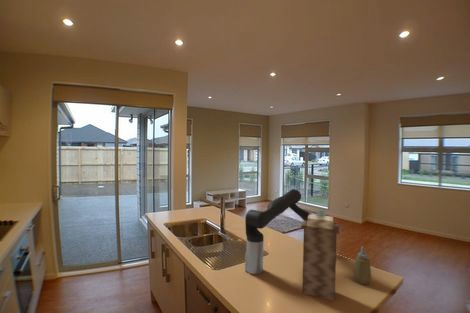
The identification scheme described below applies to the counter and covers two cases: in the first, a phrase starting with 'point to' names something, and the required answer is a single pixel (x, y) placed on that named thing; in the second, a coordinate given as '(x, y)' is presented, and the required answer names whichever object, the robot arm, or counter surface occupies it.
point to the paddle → (320, 220)
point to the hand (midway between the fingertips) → (322, 221)
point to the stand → (319, 261)
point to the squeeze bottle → (362, 268)
